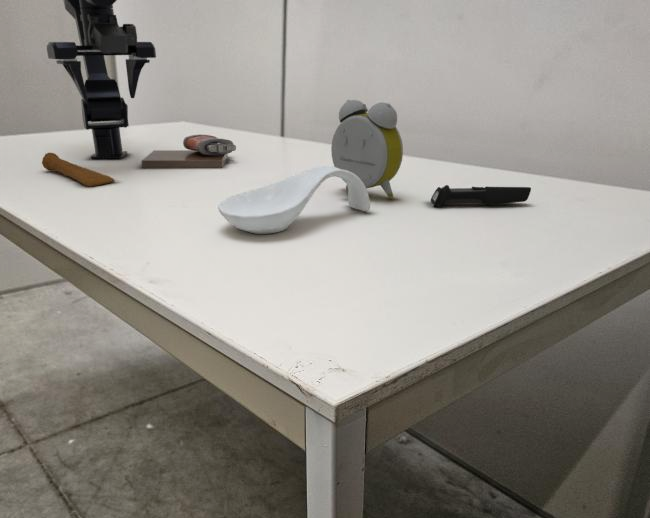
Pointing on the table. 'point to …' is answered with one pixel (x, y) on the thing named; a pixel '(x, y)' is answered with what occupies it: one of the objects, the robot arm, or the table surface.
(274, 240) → the table surface
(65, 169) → the primitive tool
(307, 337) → the table surface
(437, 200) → the electric trimmer
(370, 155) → the alarm clock
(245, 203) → the spoon rest
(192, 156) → the board
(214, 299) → the table surface
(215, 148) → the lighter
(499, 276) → the table surface
